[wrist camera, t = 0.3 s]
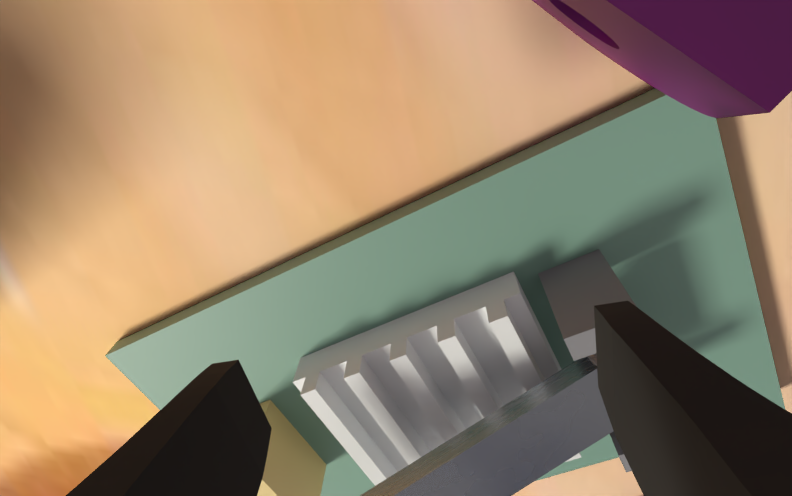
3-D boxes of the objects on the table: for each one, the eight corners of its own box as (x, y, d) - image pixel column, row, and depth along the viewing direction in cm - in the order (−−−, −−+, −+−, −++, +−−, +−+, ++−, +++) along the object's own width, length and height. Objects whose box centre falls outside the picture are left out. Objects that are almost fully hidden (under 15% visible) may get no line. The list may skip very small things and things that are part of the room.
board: (771, 393, 23) (854, 491, 18) (303, 530, 30) (282, 626, 25) (690, 71, 16) (789, 104, 12) (117, 341, 23) (45, 425, 19)
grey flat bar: (605, 306, 17) (636, 327, 16) (644, 399, 19) (674, 427, 18) (245, 530, 17) (242, 574, 16) (321, 602, 19) (325, 647, 18)
